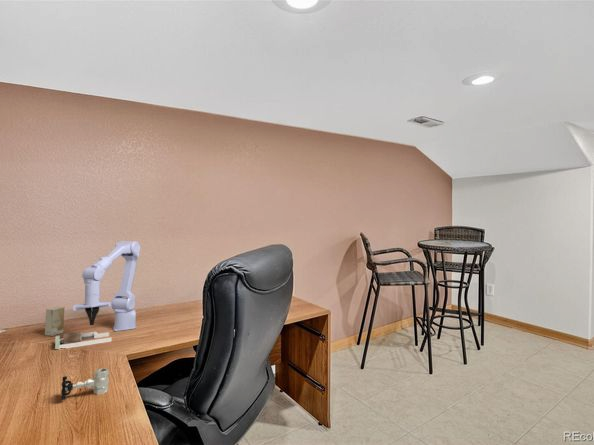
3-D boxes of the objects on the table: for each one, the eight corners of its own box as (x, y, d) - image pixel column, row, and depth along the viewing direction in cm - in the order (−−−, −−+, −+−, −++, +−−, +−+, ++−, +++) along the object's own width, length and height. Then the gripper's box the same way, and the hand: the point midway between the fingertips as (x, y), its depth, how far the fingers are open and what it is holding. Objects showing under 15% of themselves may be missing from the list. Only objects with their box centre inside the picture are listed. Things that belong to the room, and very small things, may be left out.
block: (79, 341, 150) (80, 331, 150) (80, 344, 146) (80, 334, 146) (63, 344, 147) (63, 333, 147) (63, 347, 143) (63, 336, 143)
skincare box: (52, 336, 156) (53, 309, 157) (44, 335, 157) (45, 309, 158) (64, 332, 163) (65, 306, 163) (56, 331, 164) (57, 306, 164)
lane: (107, 332, 163) (107, 326, 163) (111, 341, 150) (111, 334, 151) (55, 340, 151) (55, 333, 151) (55, 350, 139) (55, 342, 139)
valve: (108, 386, 108) (62, 394, 102) (109, 365, 108) (63, 372, 102) (108, 395, 102) (60, 404, 96) (109, 372, 102) (61, 381, 96)
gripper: (73, 297, 144) (72, 329, 143) (111, 293, 152) (111, 324, 152) (72, 294, 149) (72, 325, 149) (110, 291, 158) (109, 320, 157)
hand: (91, 324), depth 151 cm, fingers closed
